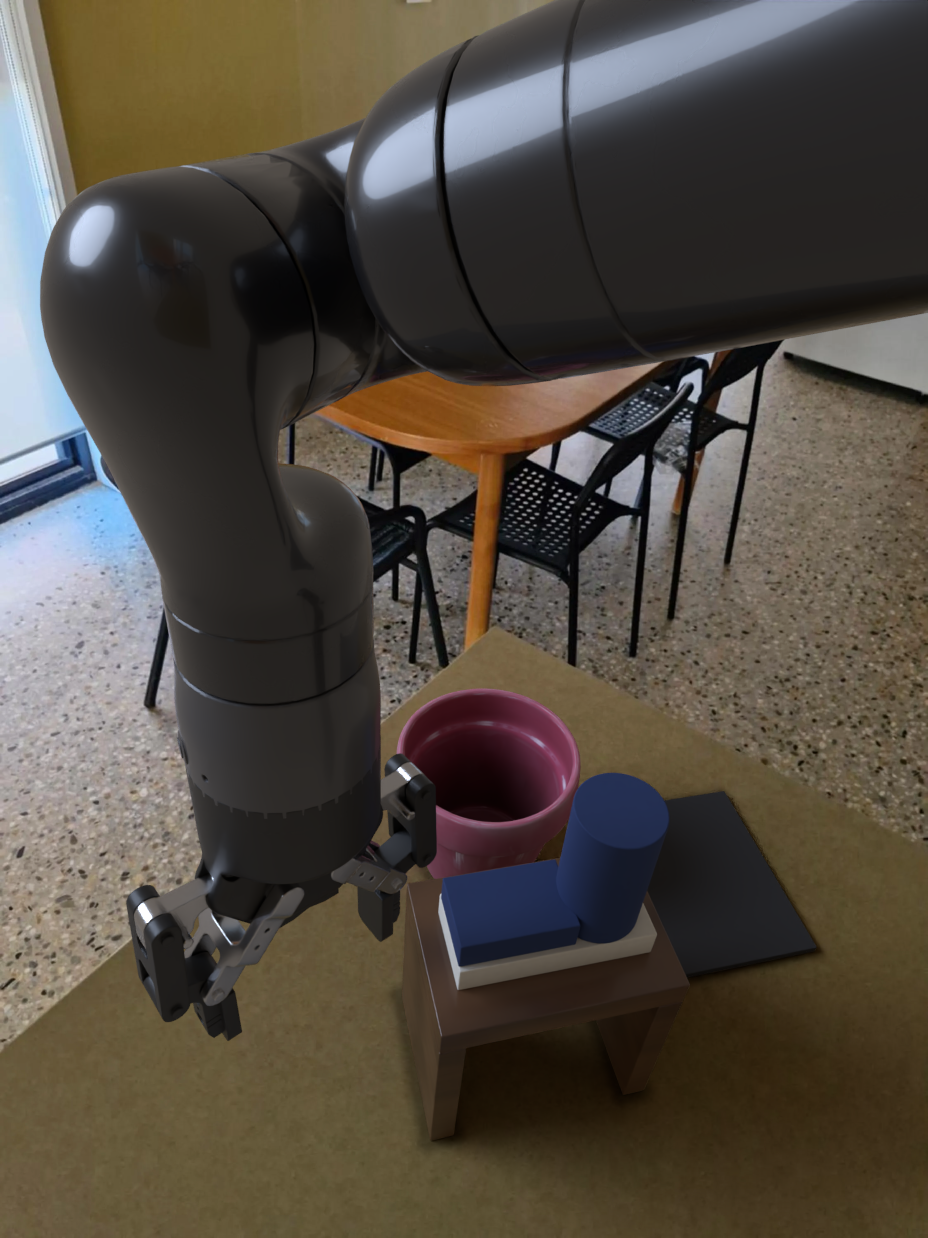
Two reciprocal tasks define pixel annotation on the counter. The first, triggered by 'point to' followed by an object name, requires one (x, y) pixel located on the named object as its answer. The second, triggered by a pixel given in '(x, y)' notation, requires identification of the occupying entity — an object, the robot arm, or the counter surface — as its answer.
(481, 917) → the boot
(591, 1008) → the shoe bench
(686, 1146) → the counter surface
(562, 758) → the flower pot
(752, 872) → the shoe mat
